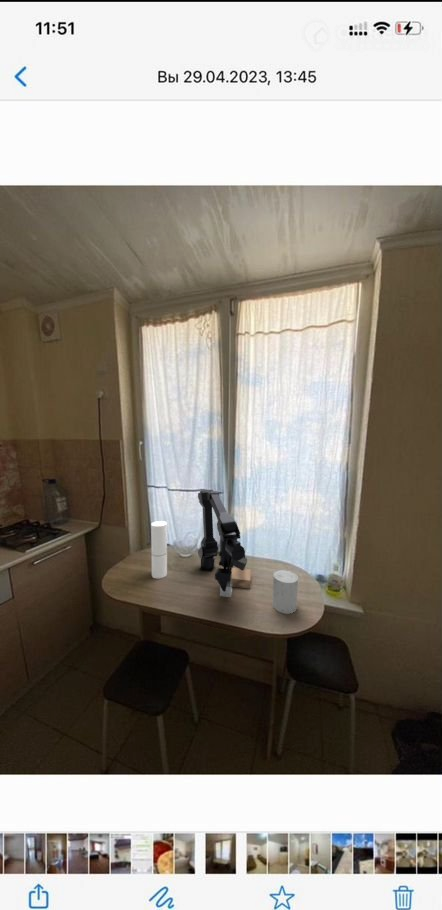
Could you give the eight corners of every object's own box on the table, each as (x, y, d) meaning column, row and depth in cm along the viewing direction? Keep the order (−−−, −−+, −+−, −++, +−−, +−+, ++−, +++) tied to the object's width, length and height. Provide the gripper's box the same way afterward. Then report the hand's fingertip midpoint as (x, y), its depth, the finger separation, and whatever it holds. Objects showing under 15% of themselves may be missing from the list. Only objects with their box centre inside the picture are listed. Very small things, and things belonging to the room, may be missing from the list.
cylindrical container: (168, 570, 123) (168, 521, 121) (164, 579, 116) (163, 526, 114) (154, 569, 123) (154, 520, 121) (149, 577, 116) (148, 525, 114)
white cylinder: (278, 594, 106) (279, 566, 105) (300, 604, 100) (302, 574, 99) (267, 606, 98) (268, 576, 97) (290, 617, 92) (292, 586, 91)
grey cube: (219, 596, 104) (220, 584, 104) (221, 589, 109) (222, 578, 108) (230, 597, 103) (230, 586, 103) (232, 591, 108) (232, 579, 107)
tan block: (229, 586, 111) (230, 578, 111) (232, 575, 120) (232, 567, 119) (250, 589, 109) (250, 580, 109) (251, 577, 118) (251, 569, 118)
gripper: (243, 562, 94) (242, 601, 95) (248, 541, 112) (247, 575, 113) (214, 559, 96) (214, 597, 97) (223, 539, 114) (223, 571, 115)
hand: (226, 584), depth 106 cm, fingers open, 9 cm apart
